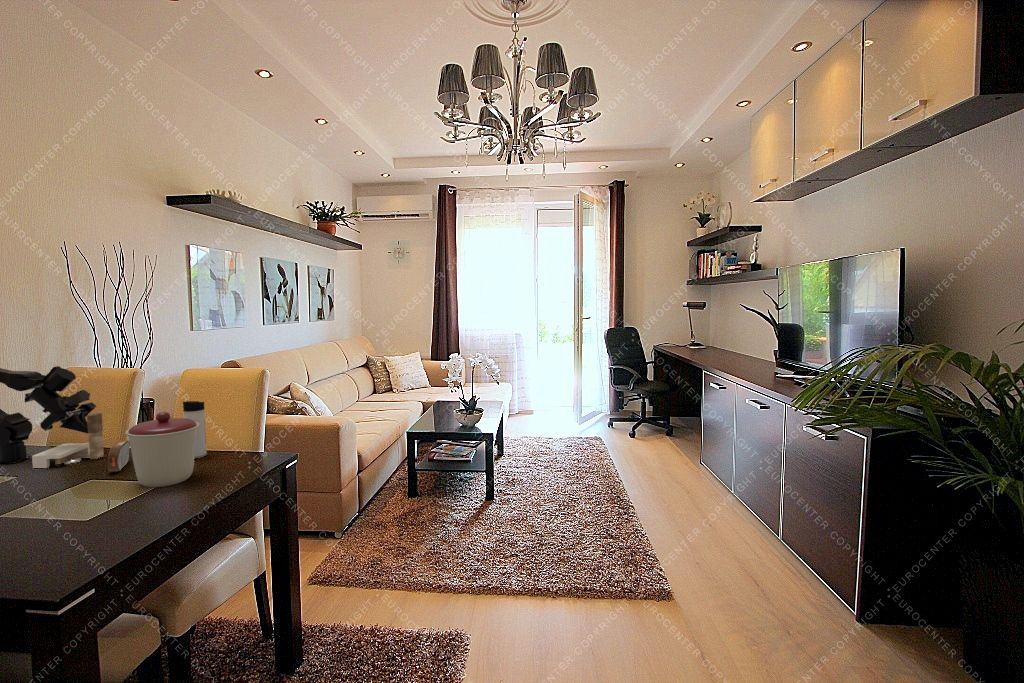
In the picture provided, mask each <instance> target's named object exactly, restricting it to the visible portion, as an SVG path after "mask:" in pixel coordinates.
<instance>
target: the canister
mask: <svg viewBox="0 0 1024 683" xmlns="http://www.w3.org/2000/svg"><path fill="white" fill-rule="evenodd" d="M155 418H156V419H153V420H147V421H143V422H139V423H137V424H135V425H133V426H131V427H130V428H129V429H127V430H125V433H124V434H125V435H126V436H128V441H129V442H130V453H131V457H132V462H133V467H134V471H135V475H136V479H137V480H138V482H139V484H140V485H141V486H143V487H147V488H161V487H162V488H163V487H168V486H172V485H177V484H180V483H182V482H185V481H186V480H187V479H189V478H190V477H191V476H192V475H193V472H194V467H195V460H194V459H195V448H196V436H197V428H198V427H199V425H200V424H199V423H198V422H195V421H194V420H191V419H186V418H184V417H171V414H170V413H169V412H168V411H160V412H158V413H157V414H156V415H155Z"/></svg>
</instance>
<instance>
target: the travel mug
mask: <svg viewBox="0 0 1024 683" xmlns="http://www.w3.org/2000/svg"><path fill="white" fill-rule="evenodd" d="M182 407H183V411H182V412H183V415H182V416H183V417H182V418H186V419H191V420H194V421H195V422H198V423H199V424H200V425H199V427H198V428H197V436H196V448H195V458H200V457H204V456H206V455H208V453H207V435H206V434H207V433H206V432H207V430H206V409H205V401H199V400H190V401H189V400H188V401H182ZM206 457H207V456H206ZM204 458H205V457H204Z"/></svg>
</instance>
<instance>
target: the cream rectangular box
mask: <svg viewBox="0 0 1024 683" xmlns="http://www.w3.org/2000/svg"><path fill="white" fill-rule="evenodd" d="M75 452H77V454H90V450H89V442H74V443H73V442H72V443H71V442H70V443H62V444H59V445H57V446H55V447H51V448H49V449H47V450H44V451H41V452H39V453H38V452H37V453H35V454H33V455H31V459H32V460H31V462H32V469H33V468H47V467H49V466H50V465H51V464H50V460H55V459H60V458H63V457H65V456H68V455H70V454H73V453H75ZM50 467H51V466H50Z"/></svg>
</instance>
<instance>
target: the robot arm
mask: <svg viewBox="0 0 1024 683" xmlns="http://www.w3.org/2000/svg"><path fill="white" fill-rule="evenodd" d="M76 379H77V377H76V374H75V373H74V372H73V371H71V370H68V369H66V368H62V367H60V365H58V366H57V365H56V366H53V367H52V368H51V369H50V371H49V372H48V373H47V374H46V375H44V374H42V373H40V372H38V371H33V370H31V371H30V370H29V371H28V370H20V371H19V370H11V369H6V368H2V367H1V368H0V384H3V385H5V386H6V387H7V388H8V389H9V388H10V389H12V390H13V391H14V390H15V391H18V392H24V391H30V390H32V391H31V392H29V393H25V394H24V396H25V397H24V403H29V402H32V401H35V402H36V403H37V404H38V405H39V406H41V407H42V408H43V410H42V412H43V413H49V414H48V415H47V416H46V417H45V418H44V419H43V420H42V421H41V422H40V428H41V429H42V430H43V431H45V432H46V431H49V430H52V429H53V428H54V427H53V426H54V424H56V423H58V422H60V424H61V425H59V428H60V429H68V430H72V431H76V432H80V433H84V434H88V435H89V433H88V425H87V415H90V414H92V411H94V410H95V409H96V408H97V405H96V404H95V403H94V402H85V401H90V399H91V398H90V396H91V393H90V392H88V391H87V390H85V389H81V390H79V391H76V393H73V394H72V395H69V396H67V395H63V396H62V395H61V394H60V393H59V392H64V390H66V388H67V387H68V386H70V384H72V383H73V381H74V380H76ZM84 402H85V403H84ZM81 403H83V404H81ZM30 419H31V418H28V417H25V416H24V415H23V414H22V413H20V412H16V413H11V414H9V413H7V412H5V411H4V410H2V409H1V408H0V463H8V464H15V463H14V462H16V463H18V462H17V461H19V460H22V459H24V458H26V457H27V446H26V445H25V441H27V440H29V438H30V435H31V433H32V432H33V424H32V422H31V421H30ZM24 460H25V459H24ZM22 461H23V460H22ZM19 462H20V461H19Z"/></svg>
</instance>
